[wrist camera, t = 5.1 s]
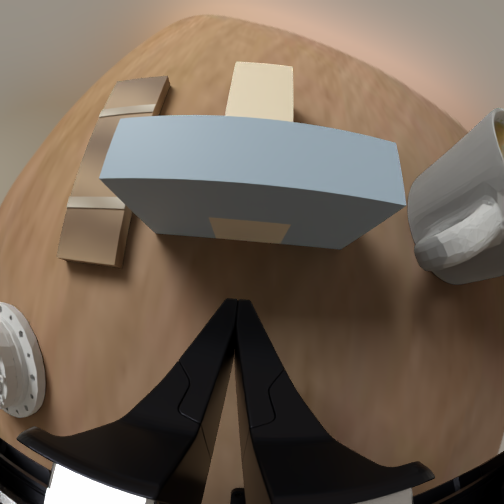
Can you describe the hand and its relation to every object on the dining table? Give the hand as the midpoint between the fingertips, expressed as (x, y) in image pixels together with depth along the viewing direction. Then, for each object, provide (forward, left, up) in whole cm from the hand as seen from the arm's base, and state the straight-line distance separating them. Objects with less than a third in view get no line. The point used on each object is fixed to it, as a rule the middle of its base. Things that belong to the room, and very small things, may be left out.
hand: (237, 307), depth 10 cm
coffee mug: (+7, -15, -7) cm, 18 cm away
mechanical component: (-8, +19, -7) cm, 22 cm away
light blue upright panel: (+10, 0, -7) cm, 12 cm away
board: (+10, +10, -7) cm, 16 cm away
